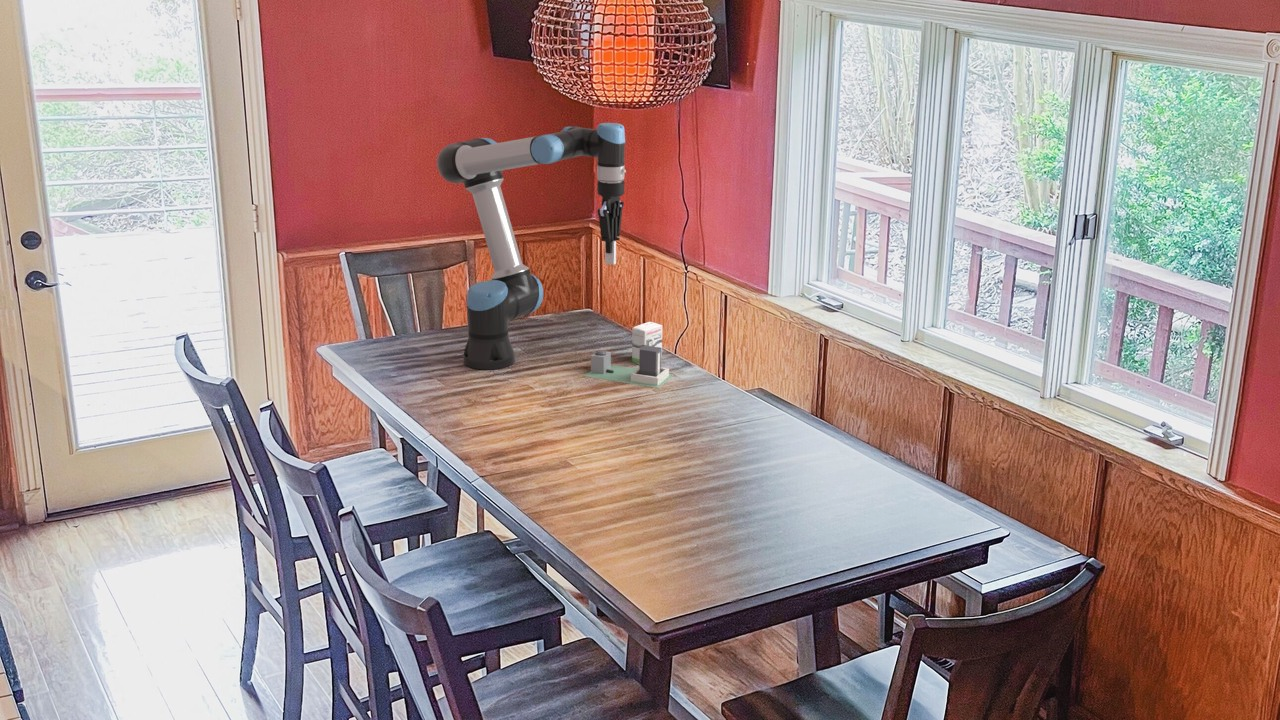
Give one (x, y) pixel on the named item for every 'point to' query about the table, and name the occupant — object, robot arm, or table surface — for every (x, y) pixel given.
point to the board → (622, 376)
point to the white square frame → (650, 377)
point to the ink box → (645, 338)
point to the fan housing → (601, 362)
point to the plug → (650, 361)
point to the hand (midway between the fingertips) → (610, 263)
